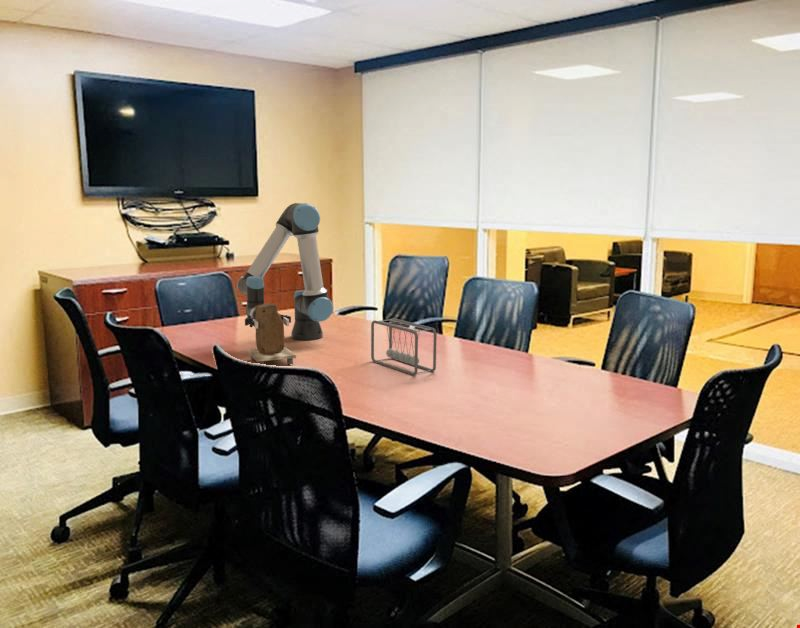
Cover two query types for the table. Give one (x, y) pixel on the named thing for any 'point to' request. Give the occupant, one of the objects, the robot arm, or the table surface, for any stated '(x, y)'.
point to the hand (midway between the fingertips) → (272, 324)
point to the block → (269, 329)
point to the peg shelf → (272, 356)
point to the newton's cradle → (401, 355)
